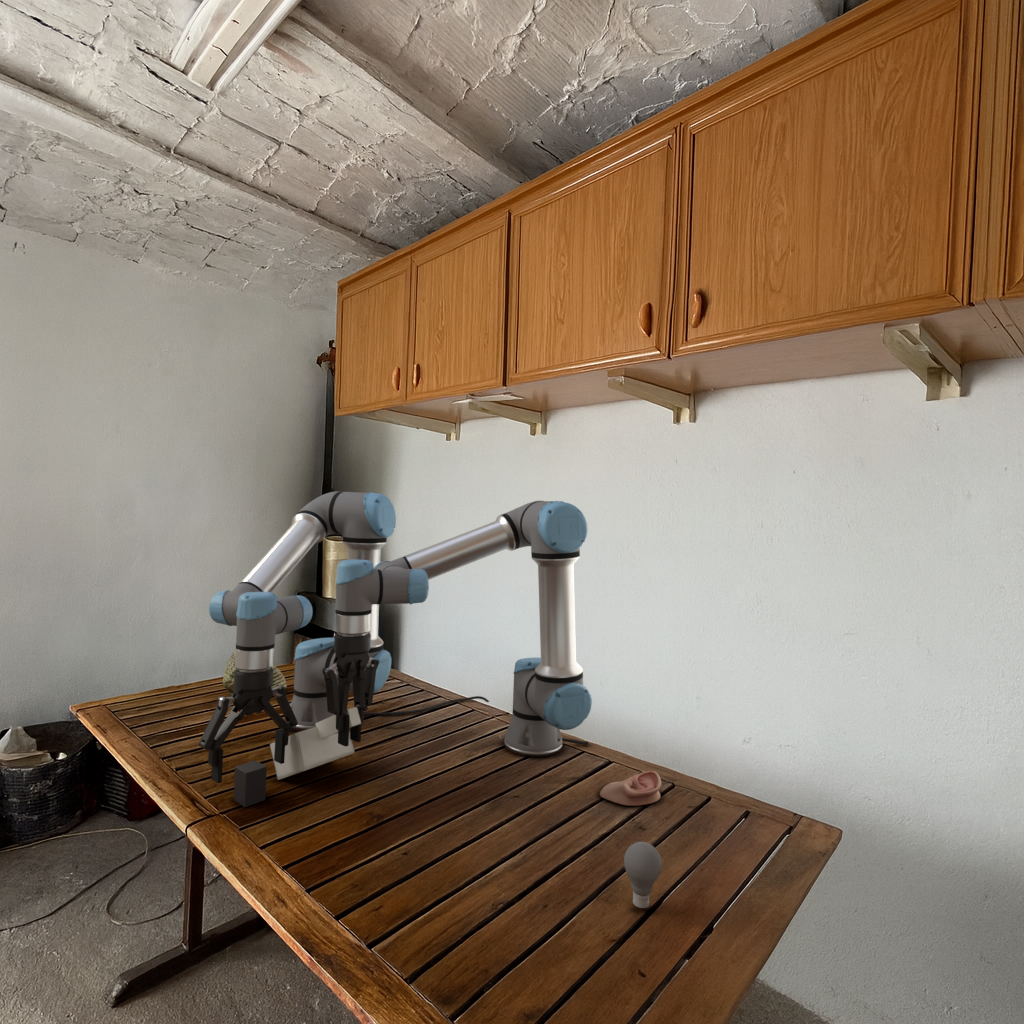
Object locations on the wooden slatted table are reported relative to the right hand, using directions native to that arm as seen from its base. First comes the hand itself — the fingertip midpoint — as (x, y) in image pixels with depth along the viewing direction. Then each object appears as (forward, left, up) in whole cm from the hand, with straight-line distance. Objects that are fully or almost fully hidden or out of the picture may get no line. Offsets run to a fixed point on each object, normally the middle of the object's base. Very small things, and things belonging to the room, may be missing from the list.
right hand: (349, 742), depth 135 cm
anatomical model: (-57, +23, -11) cm, 63 cm away
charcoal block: (+19, -5, -11) cm, 23 cm away
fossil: (+12, -77, -11) cm, 78 cm away
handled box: (+2, -6, -6) cm, 8 cm away
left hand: (+19, -5, -5) cm, 20 cm away
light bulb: (-34, +56, -11) cm, 66 cm away
